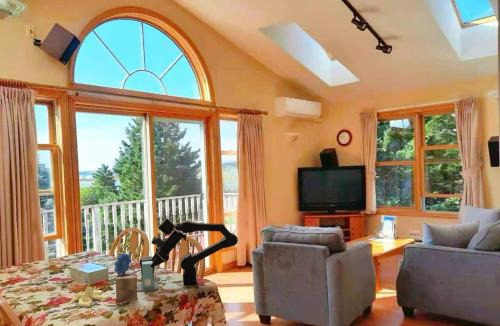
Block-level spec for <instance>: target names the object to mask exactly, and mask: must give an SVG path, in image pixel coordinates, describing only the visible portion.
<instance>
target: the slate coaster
mask: <svg viewBox="0 0 500 326" xmlns="http://www.w3.org/2000/svg"><path fill="white" fill-rule="evenodd" d="M158 290H159V282H153V287H152V288H143V283H142V284H141V283H140V284H138V283H137V293H139V292H140V293H141V292H148V291H158Z"/></svg>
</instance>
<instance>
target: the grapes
mask: <svg viewBox="0 0 500 326" xmlns="http://www.w3.org/2000/svg"><path fill="white" fill-rule="evenodd" d="M131 263H132V259H131V254H130V253H127V252H122V253H121V254H120V255H118V256H117V260H116V261H115V262H114V266H115V267H114V269H113V270H114V272H116V274H117V275H118V276H120V275H125V274H126V273H127V271H128V270H129V269H130V267H131V265H130V264H131Z"/></svg>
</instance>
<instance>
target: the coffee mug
mask: <svg viewBox="0 0 500 326" xmlns="http://www.w3.org/2000/svg"><path fill="white" fill-rule="evenodd" d="M153 256H154V255H153ZM153 256H152V255H151V256H149V255H148V256H142V257H139V259H138V260H139V266H140V274H141V275H142V262H146V261H151V259H152V258H153ZM154 276H155V267H153V277H154Z"/></svg>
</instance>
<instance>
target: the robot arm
mask: <svg viewBox="0 0 500 326" xmlns="http://www.w3.org/2000/svg"><path fill="white" fill-rule="evenodd" d="M157 229H158V230H160V231H161V232H162V234H164V235H165V236H167V237H165V239H162V238H160V237H157V236H153V237H152V240H151V244H152V245H156V247H155V252H154V255H153V258H152V259H151V261H152V265H151V267H152V268H153V267H154V268H155V267H157V266H159V265H161V264H163V263H166V262H168V261H169V260H170V254H171V251H172V250H173V249H175V248H176V247H177V245H178V244H179V243H180V242H181V241H182V239H183V240H185V241H187V234H191V233H195V232H220V234H222V236H223V237H222V238H221V239H220V240H218V241H217V242H215V243H213V244H210V245H209V246H207V247H205V248H203V249H201V250H200V251H197V252H195V253H192V252H191V251H189V252H188V253H187V254H183V256H182V257H181V258H180V262H179V265H180V268H181V269H182V270H184V271H183V274H182V283H183V286H188V285H189V286H191V285H192V286H193V285H197V284H198V280H197V279H198V277H197V276H198V274H197V267H196V266H197V265H196V264H198V263H199V261H202V260H204V259H205V258H207V257H210V256H211V255H214V254H215V253H217V252H219V251H221V250H222V249H226V248H227V249H228V248H231V247H235V246H236V245H237V244H238V242H239V239H238V236H237V234H235V233H233V232H231V231H230V230H228V229H227V226H226V225H225V224H224V223H221V222H220V223H212V222H211V223H209V222H208V223H207V222H206V223H205V222H202V223H200V222H195V221H191V220H182V221H181V222H180V223H175V224H174V223H173V222H172V221H171V220H170V219H169V217H167V218H165V219H164V220H163V221H162V222H161V223H160V224H159V225H158V227H157Z"/></svg>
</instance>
